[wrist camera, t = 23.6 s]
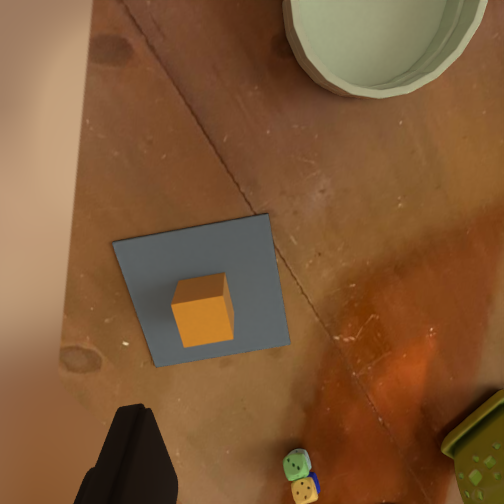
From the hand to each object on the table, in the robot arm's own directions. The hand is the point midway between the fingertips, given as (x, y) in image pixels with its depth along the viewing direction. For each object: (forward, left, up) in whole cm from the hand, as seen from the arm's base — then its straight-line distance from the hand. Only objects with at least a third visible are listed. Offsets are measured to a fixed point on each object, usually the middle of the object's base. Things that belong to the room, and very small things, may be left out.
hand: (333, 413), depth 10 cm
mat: (-8, -11, -28) cm, 31 cm away
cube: (-8, -11, -28) cm, 31 cm away
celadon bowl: (+11, +13, -28) cm, 33 cm away
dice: (-1, -38, -28) cm, 47 cm away
